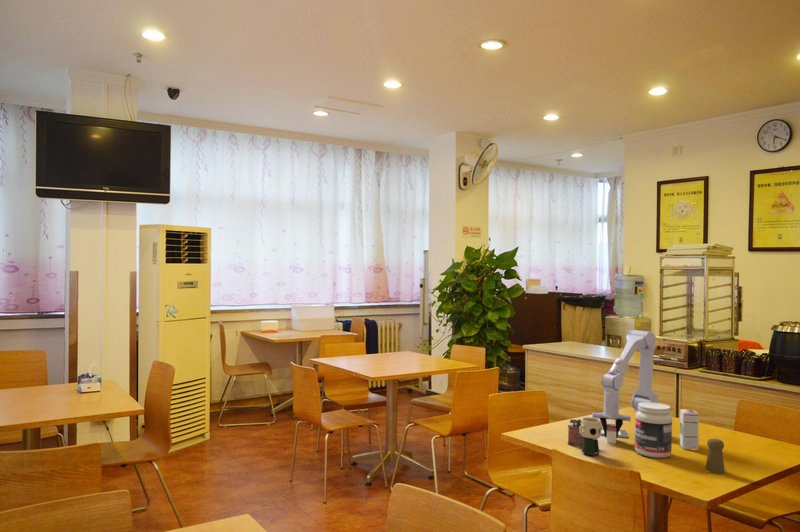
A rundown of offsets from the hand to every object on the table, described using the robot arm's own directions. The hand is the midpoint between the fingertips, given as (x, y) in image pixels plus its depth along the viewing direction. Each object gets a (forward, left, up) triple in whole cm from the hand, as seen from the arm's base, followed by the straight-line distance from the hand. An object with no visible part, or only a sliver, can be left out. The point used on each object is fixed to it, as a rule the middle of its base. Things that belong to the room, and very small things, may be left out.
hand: (610, 437), depth 241 cm
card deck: (0, 0, -1) cm, 1 cm away
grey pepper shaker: (-32, +27, -2) cm, 42 cm away
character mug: (+9, +21, -2) cm, 23 cm away
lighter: (+13, +10, -2) cm, 16 cm away
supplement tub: (-14, +13, -2) cm, 19 cm away
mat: (0, -12, -1) cm, 12 cm away
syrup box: (-29, 0, -2) cm, 29 cm away
